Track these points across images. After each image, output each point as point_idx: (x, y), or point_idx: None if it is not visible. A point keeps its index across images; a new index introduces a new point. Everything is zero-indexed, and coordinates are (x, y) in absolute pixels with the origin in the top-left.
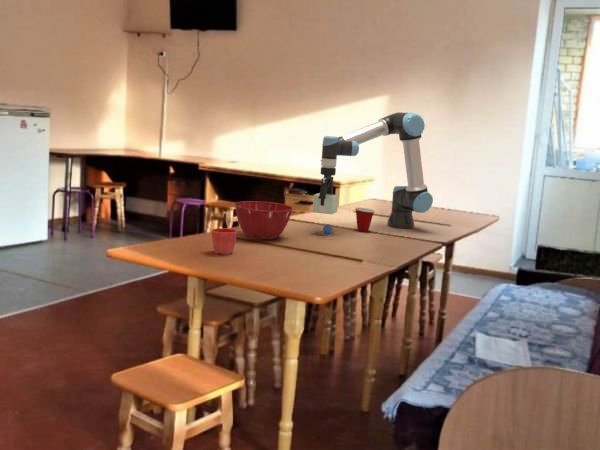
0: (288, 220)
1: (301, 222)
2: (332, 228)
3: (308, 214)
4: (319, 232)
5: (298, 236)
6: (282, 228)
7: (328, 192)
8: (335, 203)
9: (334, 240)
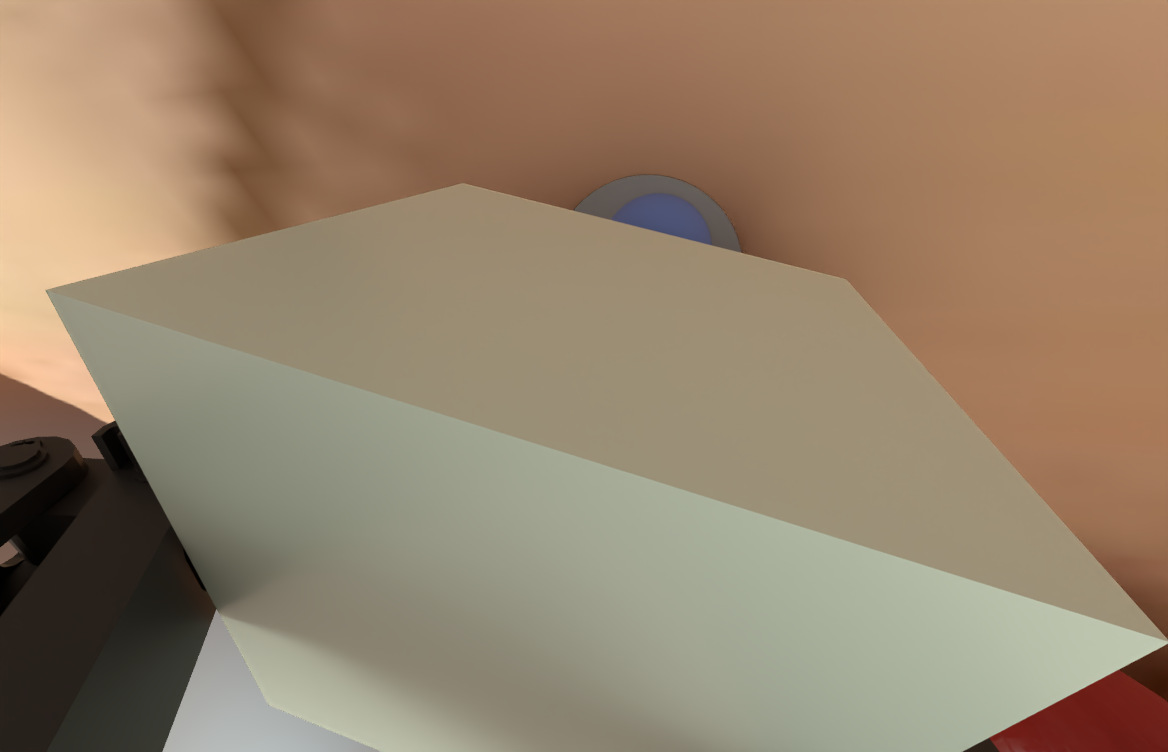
0: (1120, 723)
1: None
2: (669, 200)
3: (35, 377)
4: None
5: None
6: (1138, 685)
7: (170, 643)
8: (588, 288)
9: (1083, 133)
